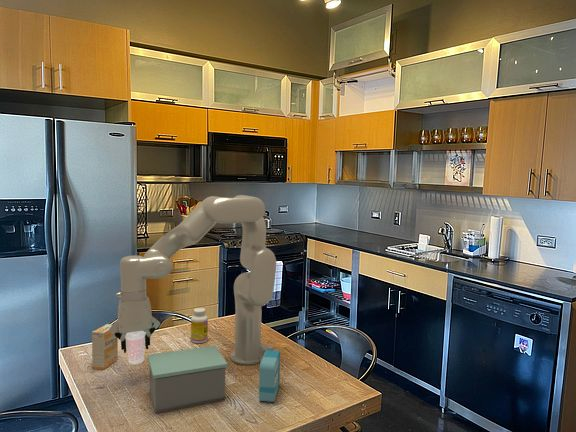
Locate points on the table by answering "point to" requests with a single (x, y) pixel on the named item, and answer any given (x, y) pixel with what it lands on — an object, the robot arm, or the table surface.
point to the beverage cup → (135, 346)
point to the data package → (269, 375)
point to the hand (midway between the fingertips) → (135, 349)
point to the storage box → (187, 390)
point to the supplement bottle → (199, 326)
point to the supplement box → (104, 347)
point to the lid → (185, 361)
